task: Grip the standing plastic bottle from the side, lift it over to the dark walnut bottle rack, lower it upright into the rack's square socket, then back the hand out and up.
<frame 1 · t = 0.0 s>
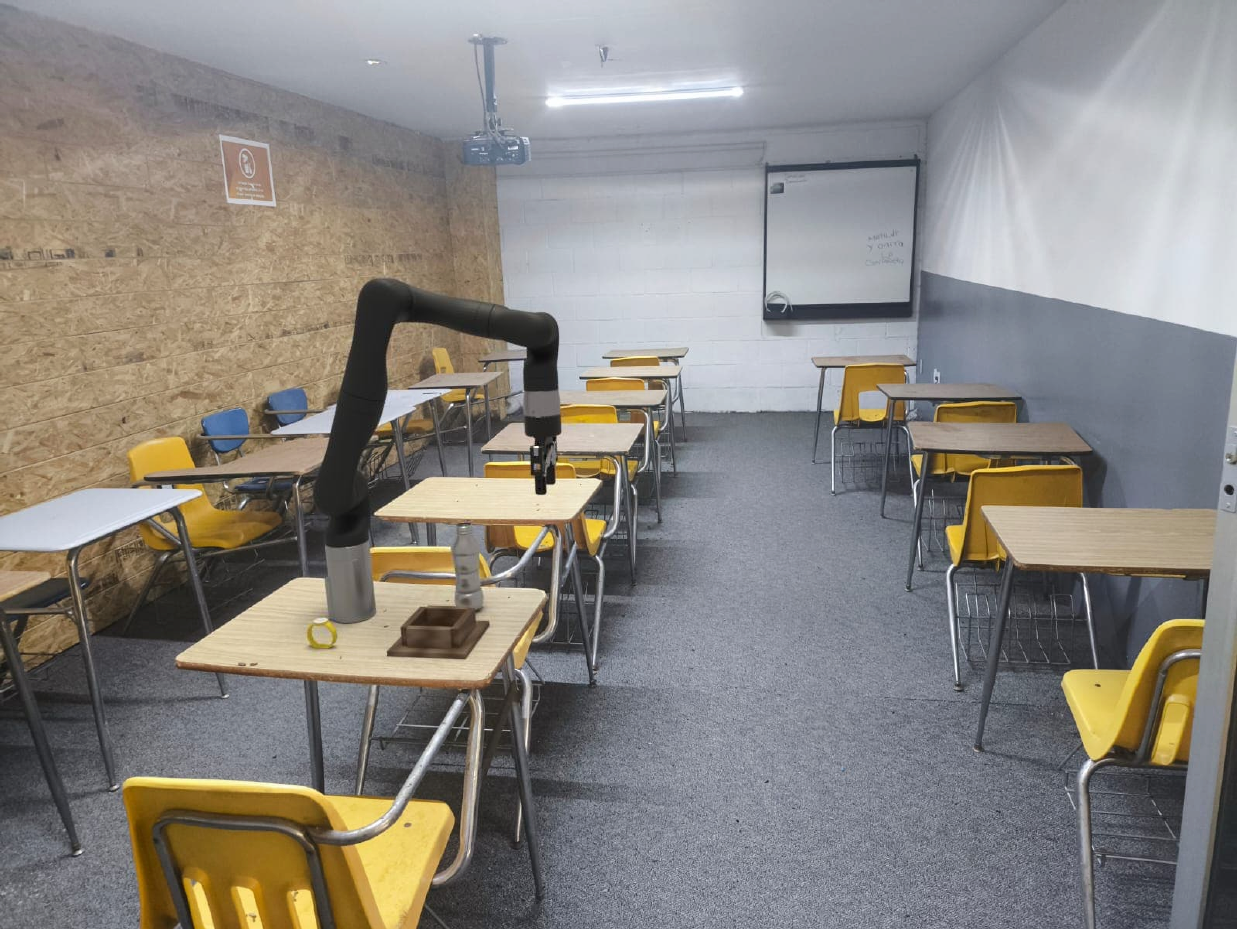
hand: (545, 489, 164), 29 cm above the table, tool pointing down, fingers open, 8 cm apart
bottle rack: (440, 640, 162), on the table
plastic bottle: (469, 610, 178), on the table
watch: (323, 648, 161), on the table
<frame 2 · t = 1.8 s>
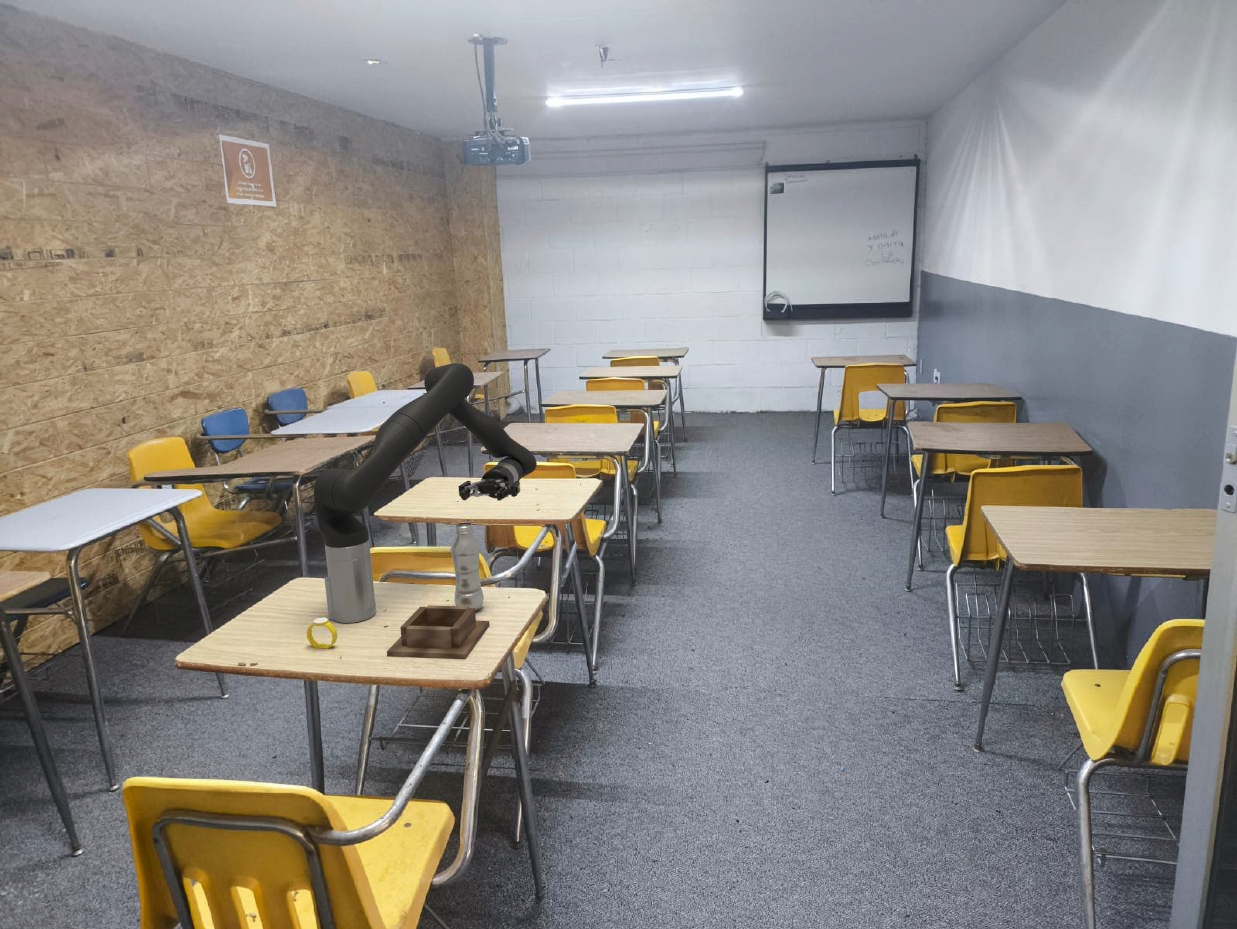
hand: (480, 496, 185), 23 cm above the table, tool horizontal, fingers open, 8 cm apart
nothing on the table moved.
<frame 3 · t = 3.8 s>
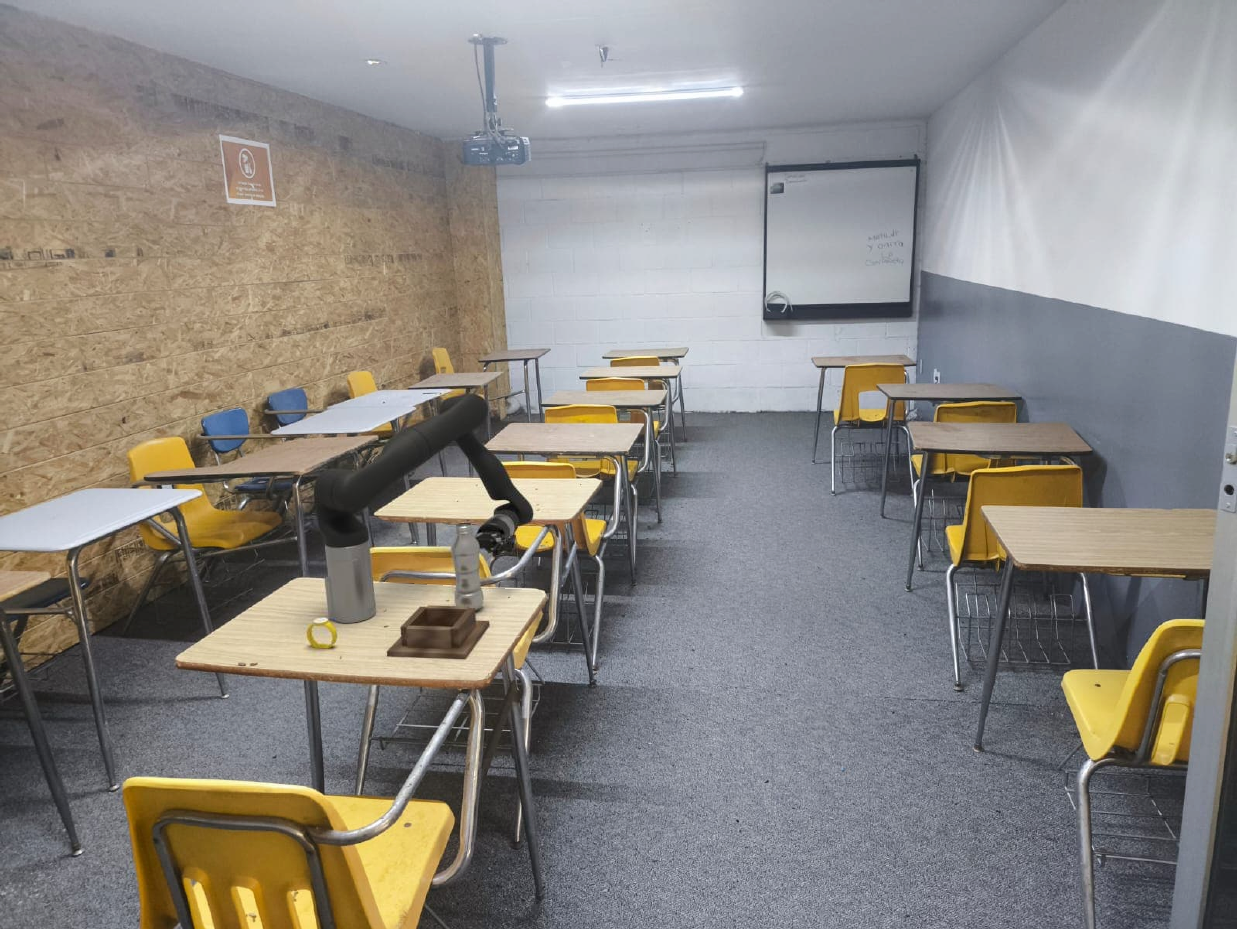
hand: (476, 552, 182), 11 cm above the table, tool horizontal, fingers open, 8 cm apart
nothing on the table moved.
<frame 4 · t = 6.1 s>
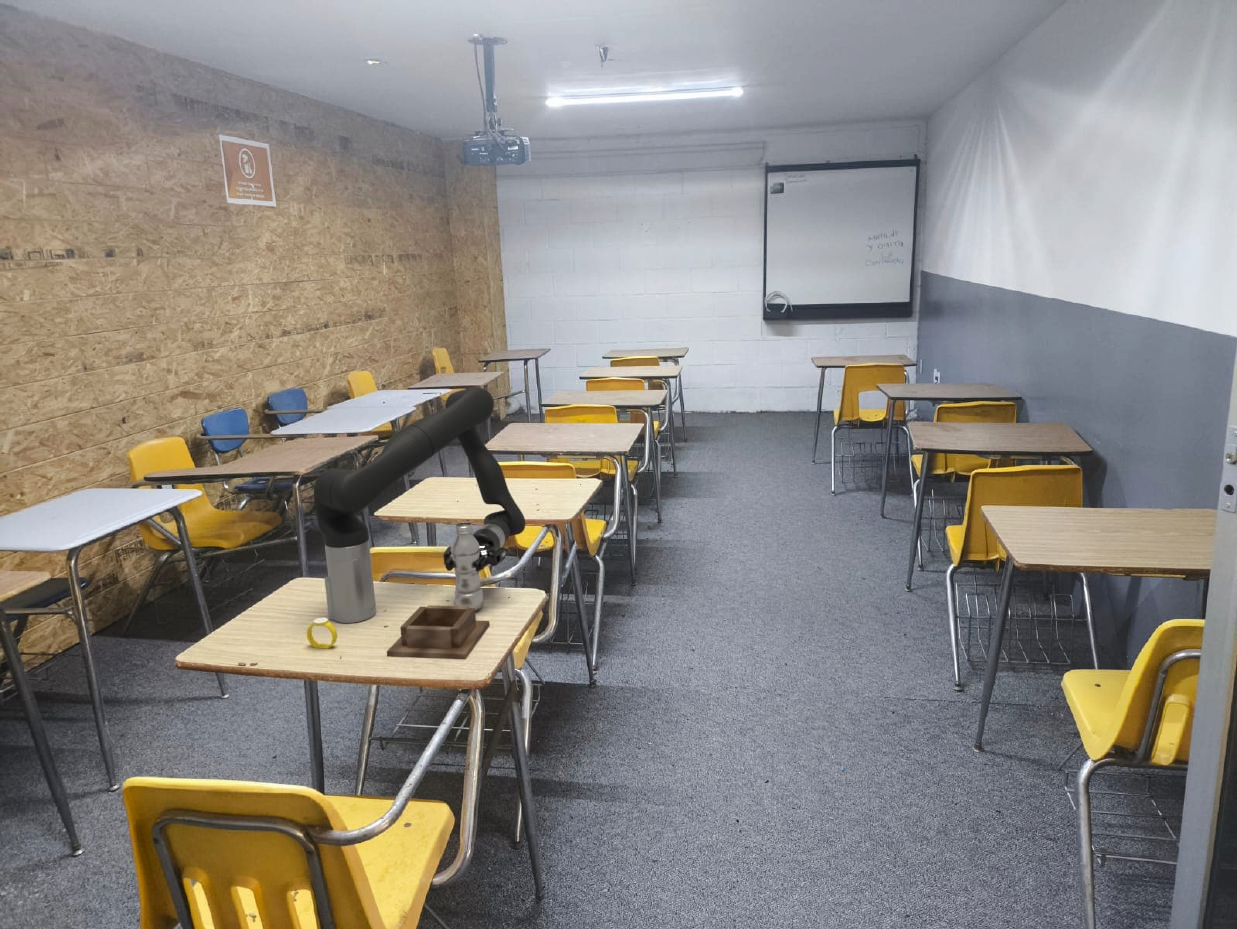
hand: (462, 566, 173), 11 cm above the table, tool horizontal, fingers closed on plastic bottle, 6 cm apart
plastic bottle: (469, 610, 178), on the table, touching gripper
everything else where it was.
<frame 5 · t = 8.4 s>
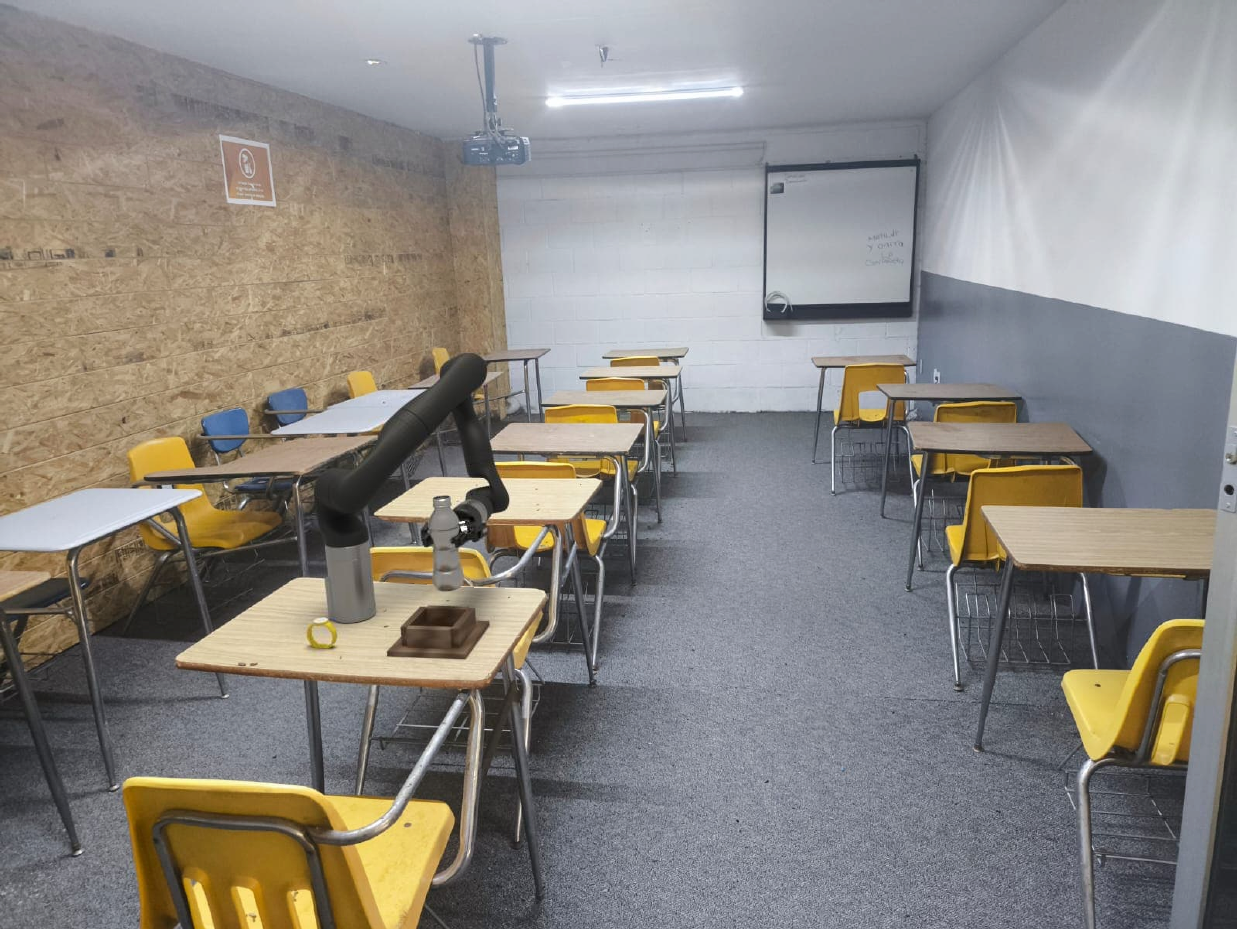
hand: (440, 543, 161), 20 cm above the table, tool horizontal, fingers closed on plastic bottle, 6 cm apart
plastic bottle: (449, 590, 166), point 9 cm above the table, touching gripper
everything else where it was.
when the fingers open (13 cm above the table, at t = 11.0 s): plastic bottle drops 1 cm, resting on bottle rack.
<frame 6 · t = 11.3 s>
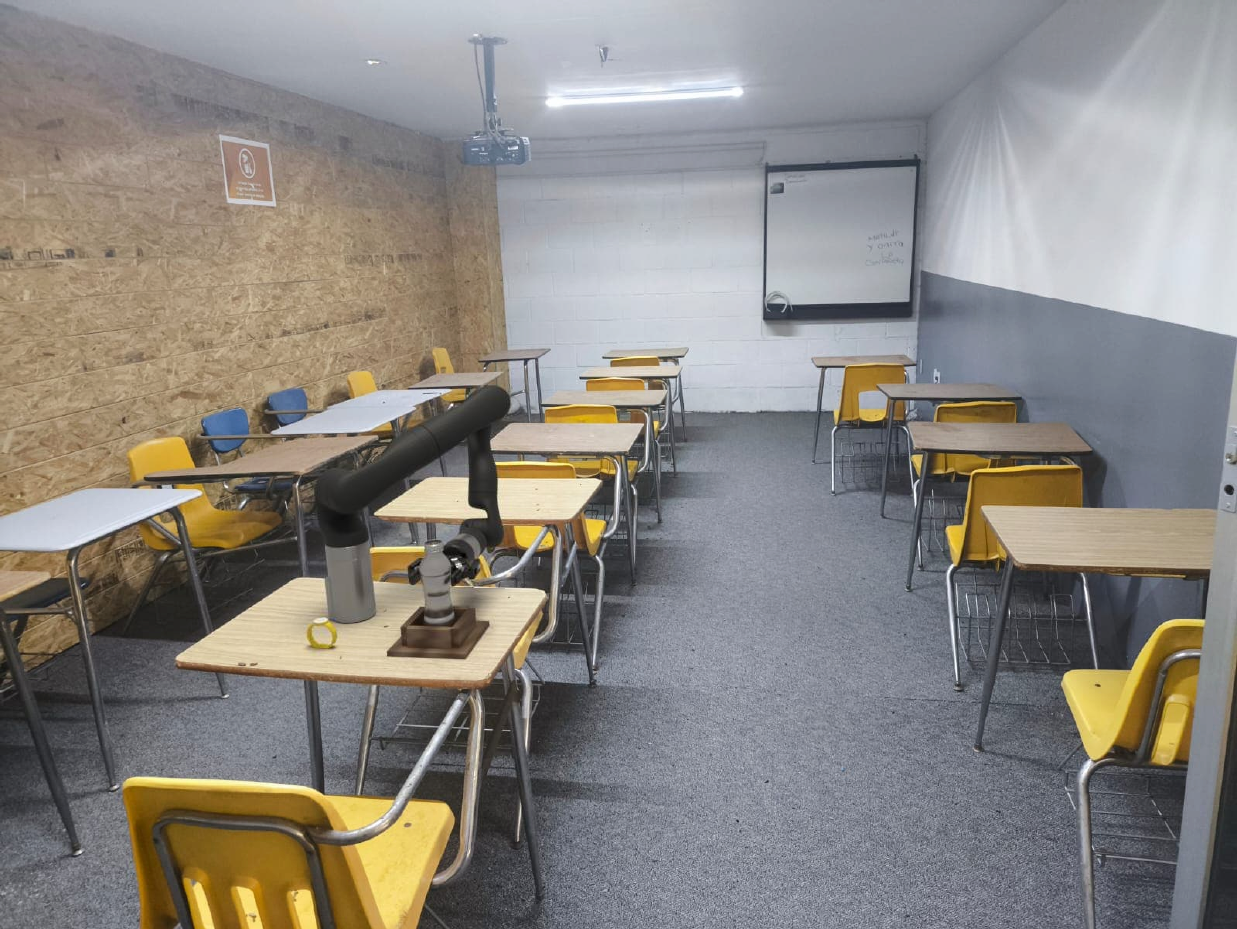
hand: (432, 581, 157), 13 cm above the table, tool horizontal, fingers open, 8 cm apart
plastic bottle: (440, 635, 162), point 1 cm above the table, touching bottle rack
everything else where it was.
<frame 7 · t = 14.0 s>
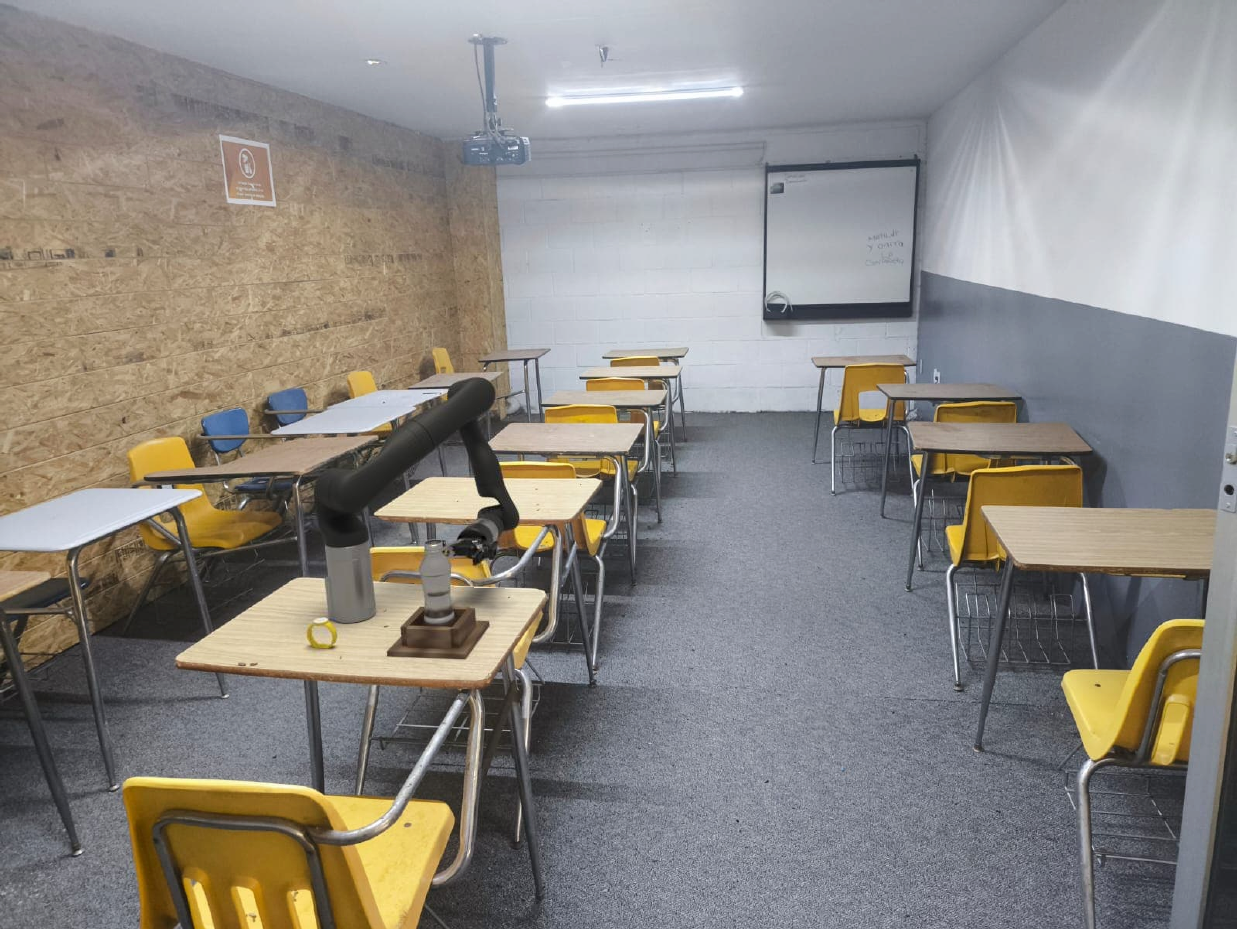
hand: (455, 561, 169), 13 cm above the table, tool horizontal, fingers open, 8 cm apart
nothing on the table moved.
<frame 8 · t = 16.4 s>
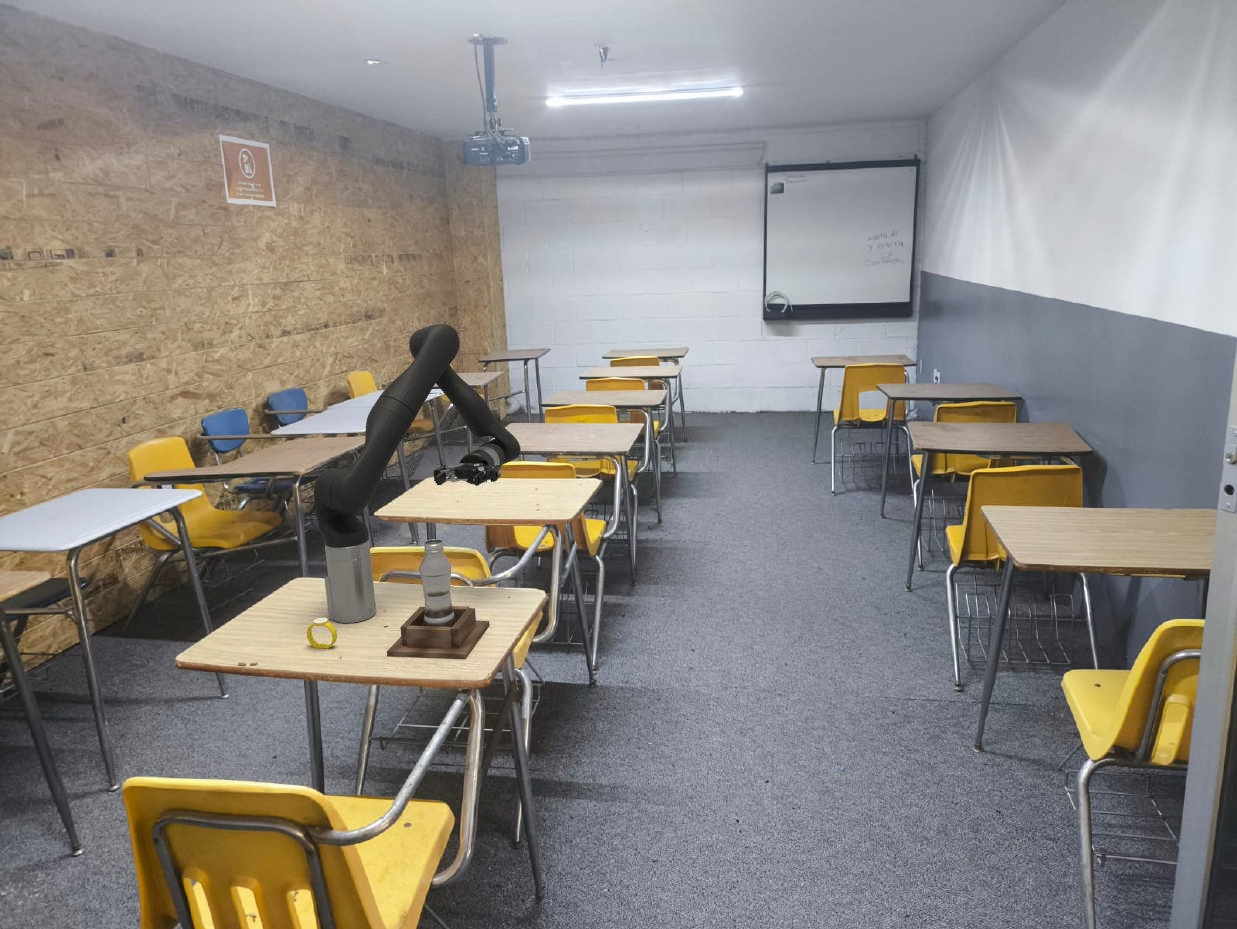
hand: (457, 481, 170), 30 cm above the table, tool horizontal, fingers open, 8 cm apart
nothing on the table moved.
at the end: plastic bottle 0.2 cm off-centre on the bottle rack, point 0.8 cm above the bottle rack's base; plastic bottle tilted 0°; the gripper is holding nothing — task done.
